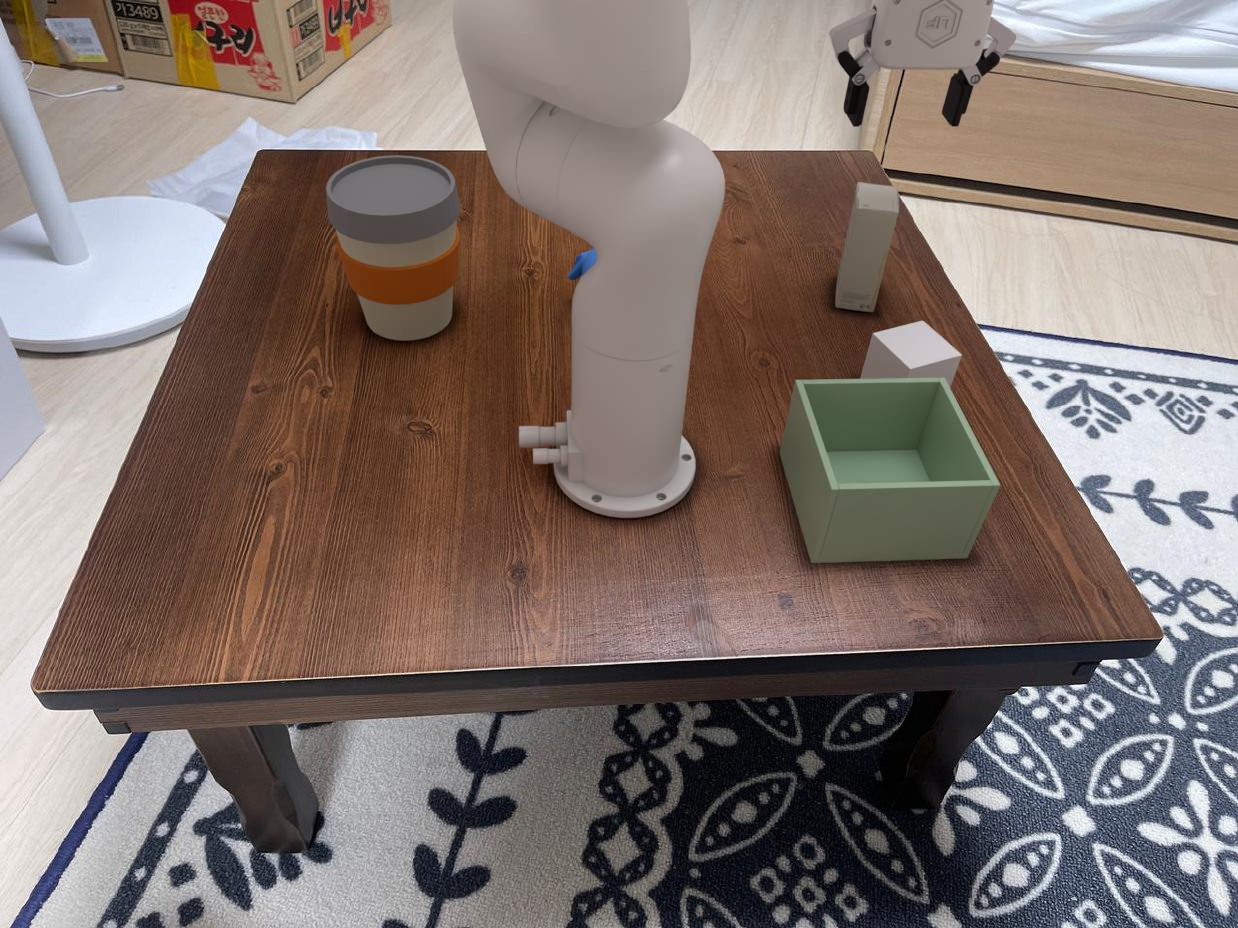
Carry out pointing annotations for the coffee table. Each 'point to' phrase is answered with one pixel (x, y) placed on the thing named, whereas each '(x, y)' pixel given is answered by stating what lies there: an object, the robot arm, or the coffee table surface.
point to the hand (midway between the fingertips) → (901, 120)
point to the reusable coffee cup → (398, 241)
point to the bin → (884, 470)
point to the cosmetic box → (866, 246)
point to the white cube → (910, 354)
